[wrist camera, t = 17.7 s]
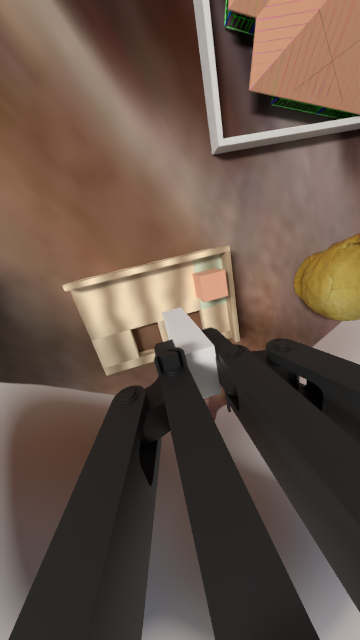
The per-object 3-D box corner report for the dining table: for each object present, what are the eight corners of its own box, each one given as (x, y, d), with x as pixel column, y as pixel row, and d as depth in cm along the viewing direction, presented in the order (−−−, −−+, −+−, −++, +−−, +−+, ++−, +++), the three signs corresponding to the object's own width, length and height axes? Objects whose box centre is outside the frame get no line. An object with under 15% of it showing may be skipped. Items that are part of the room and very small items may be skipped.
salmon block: (196, 296, 42) (204, 302, 37) (192, 273, 40) (199, 276, 35) (218, 291, 43) (228, 295, 38) (214, 267, 41) (225, 269, 36)
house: (364, 129, 40) (417, 100, 33) (215, 100, 33) (238, 55, 26) (407, -41, 33) (488, -128, 26) (227, -124, 26) (265, -276, 19)
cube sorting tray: (108, 369, 46) (105, 382, 41) (71, 281, 38) (62, 285, 33) (230, 332, 50) (240, 340, 45) (218, 246, 42) (229, 245, 37)
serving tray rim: (212, 154, 36) (218, 146, 33) (177, -127, 25) (183, -174, 23) (388, 123, 41) (407, 114, 39) (423, -122, 30) (452, -160, 28)
